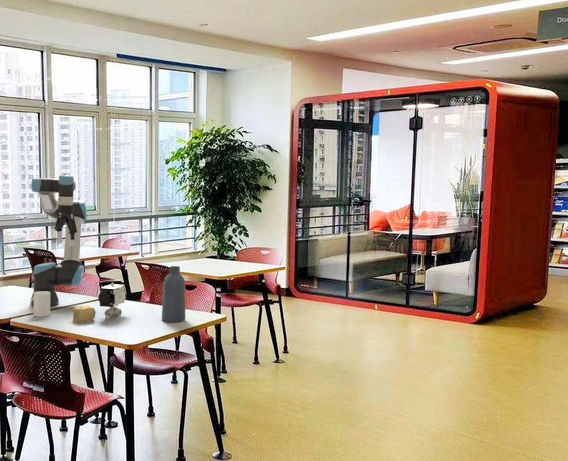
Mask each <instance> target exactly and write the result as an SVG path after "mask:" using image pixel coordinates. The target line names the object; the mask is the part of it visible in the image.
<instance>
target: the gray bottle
mask: <svg viewBox="0 0 568 461" xmlns="http://www.w3.org/2000/svg"><path fill="white" fill-rule="evenodd" d="M162 293H163V294H162V306H161V321H163V322H165V323H182V322H184V321H185V320H186V282H185V278H184V276H183V275H182V274H181V268H180V266H176V265H171V266H169V274H167V275H166V276H165V278H164V281H163V292H162Z"/></svg>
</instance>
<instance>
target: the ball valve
mask: <svg viewBox="0 0 568 461" xmlns="http://www.w3.org/2000/svg"><path fill="white" fill-rule="evenodd" d="M125 286H126V285H125V284H118V283H117V284H115V283H114V282H111V284H108V285H105V286H102V287H99V294H98V297H97V298H98V299H97V300H98V301H99V307H105V308H106V307H107V309H106V310H105V311H104V316H105V317H106V318H108V317H109V319H110V318H114V317H115V318H118V317H121V316H122V313H123V312H122V311H123V310H122V309H121V308H120V307H118V306H119V305H121V304H123V303H125V301H126V300H127V290H126V289H125Z"/></svg>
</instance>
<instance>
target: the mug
mask: <svg viewBox="0 0 568 461" xmlns="http://www.w3.org/2000/svg"><path fill="white" fill-rule="evenodd" d="M33 299H34V306H31V302H32V300H33ZM30 300H31V301H29V307H30V310H31V311H33V314H32V315H33V317H37V318H43V317H49V316H51V306H50V292H48V291H38V292H34V297H33V298H32V299H31V298H30Z"/></svg>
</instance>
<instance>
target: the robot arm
mask: <svg viewBox="0 0 568 461" xmlns="http://www.w3.org/2000/svg"><path fill="white" fill-rule="evenodd" d="M74 177H75V176H73V175H63V174H62V175H59V176H58V178H46V177H45V178H44V177H37V178H35V177H33V178H32V180H31V182H30V183H31V185H30V186H31V191H32V192H33V193H38V196H39V198H40V201H41V204H40V206H41V210H42V211H43V212H44V213H45V215H47V216H48V217H51V218H53V219H56V221H55V226H54V230H55V232H56V245H59V244H61V245H62V244H63V227H64V225H65V233H64V234H65V236H64V250H63V260H62V261H61V262H60V265H57V263H56V262H45V263H39V264H36V265H35V266H34V268H33V292H32V295H31V297H30V301H31V299H32V298H33V297H34V292H38V291H48V292H50V307H53V306H58V305H59V303H60V301H59V297H58V294H57V291H56V287H79V286H81V285H82V282H83V279H84V275H85V266H84V265H83V263H82V261H80V252H81V237H82V236H81V235H82V225H83V224H85V221H87V219H88V215H87V207H86V202H85V201H84V200H79V199H76V200H75V199H74V198H75V197H74V192H75V190H76V186H77V185H76V182H75V180H74V179H75V178H74ZM54 193H55V194H56V193H57V194H58V198H57V199H56V198H55V194H54ZM30 301H29V302H30ZM31 307H34V299H33V300H32V302H31Z"/></svg>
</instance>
